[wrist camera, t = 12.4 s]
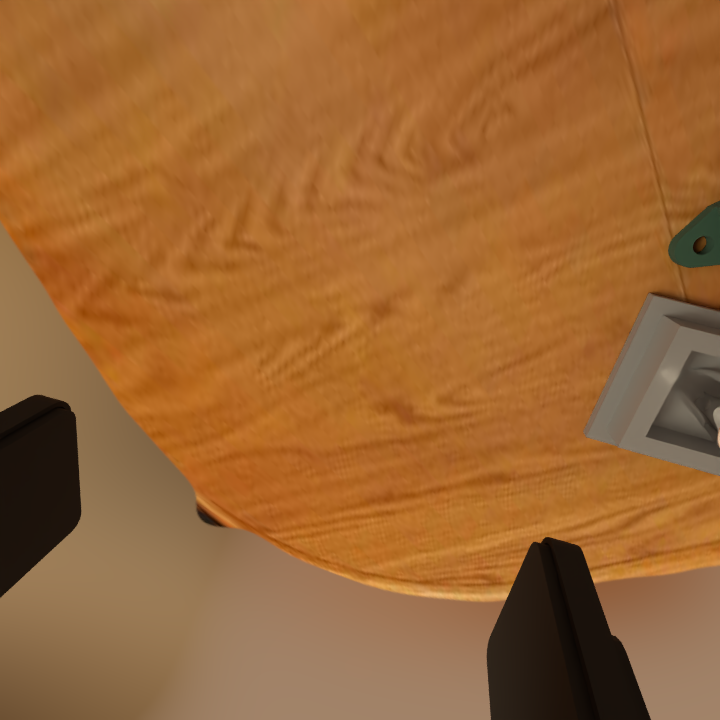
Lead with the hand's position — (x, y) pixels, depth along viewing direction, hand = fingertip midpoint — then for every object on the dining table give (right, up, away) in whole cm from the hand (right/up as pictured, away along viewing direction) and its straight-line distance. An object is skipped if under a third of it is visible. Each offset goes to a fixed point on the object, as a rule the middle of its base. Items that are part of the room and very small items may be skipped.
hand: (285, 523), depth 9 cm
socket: (+29, +1, +29) cm, 41 cm away
